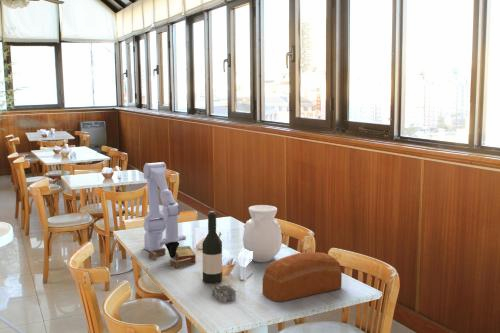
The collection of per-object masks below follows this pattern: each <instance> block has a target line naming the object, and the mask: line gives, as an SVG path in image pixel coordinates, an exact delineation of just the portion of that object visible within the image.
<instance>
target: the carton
mask: <svg viewBox="0 0 500 333" xmlns="http://www.w3.org/2000/svg"><path fill="white" fill-rule="evenodd" d="M187 258H191V264H196V261H197V260H196V254H195V252H194V251H193V250H192V248H191V246H190V245H184V246H178V248H177V250H176V254H175V258H174V260H175V261H179V260H183V259H187Z"/></svg>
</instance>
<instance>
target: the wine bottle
mask: <svg viewBox="0 0 500 333" xmlns="http://www.w3.org/2000/svg"><path fill="white" fill-rule="evenodd" d="M207 230H208V231H207V234H206V236H205V238H204V240H203V242H202V244H201V245H202V246H201V248H202V249H201V250H202V282H203V283H205V284H207V285H208V284H209V285H210V284H211V285H216V284H220V283H222V281H223V241H222V240H221V238H220V237H219V235H218V233H217V212H216V211H214V210H209V211H208V212H207Z"/></svg>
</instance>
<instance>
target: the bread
mask: <svg viewBox="0 0 500 333" xmlns="http://www.w3.org/2000/svg"><path fill="white" fill-rule="evenodd" d="M342 274H343V273H342V270H341V263H340V262H339V261H338V260H337V258H335V257H334V256H332V255H330V254H327V253H325V252H318V251H316V252H314V251H313V252H312V251H311V252H309V251H308V252H305V251H304V252H298V253H293V254H290V255H287V256H284V257H281V258H279V259H277V260H274V261H273V262H271V263H269V264H268V265H267V266H265V269H264V273H263V275H262V287H261V288H262V295H264V297H266V298H268V299H269V300H271V301H273V302H279V303H280V302H286V301H291V300H294V299H295V300H296V299H300V298H304V297H305V298H306V297H308V296H314V295H317V294H323V293H327V292H331V291H335V290H339V289H341V288H342V277H343V276H342Z"/></svg>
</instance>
